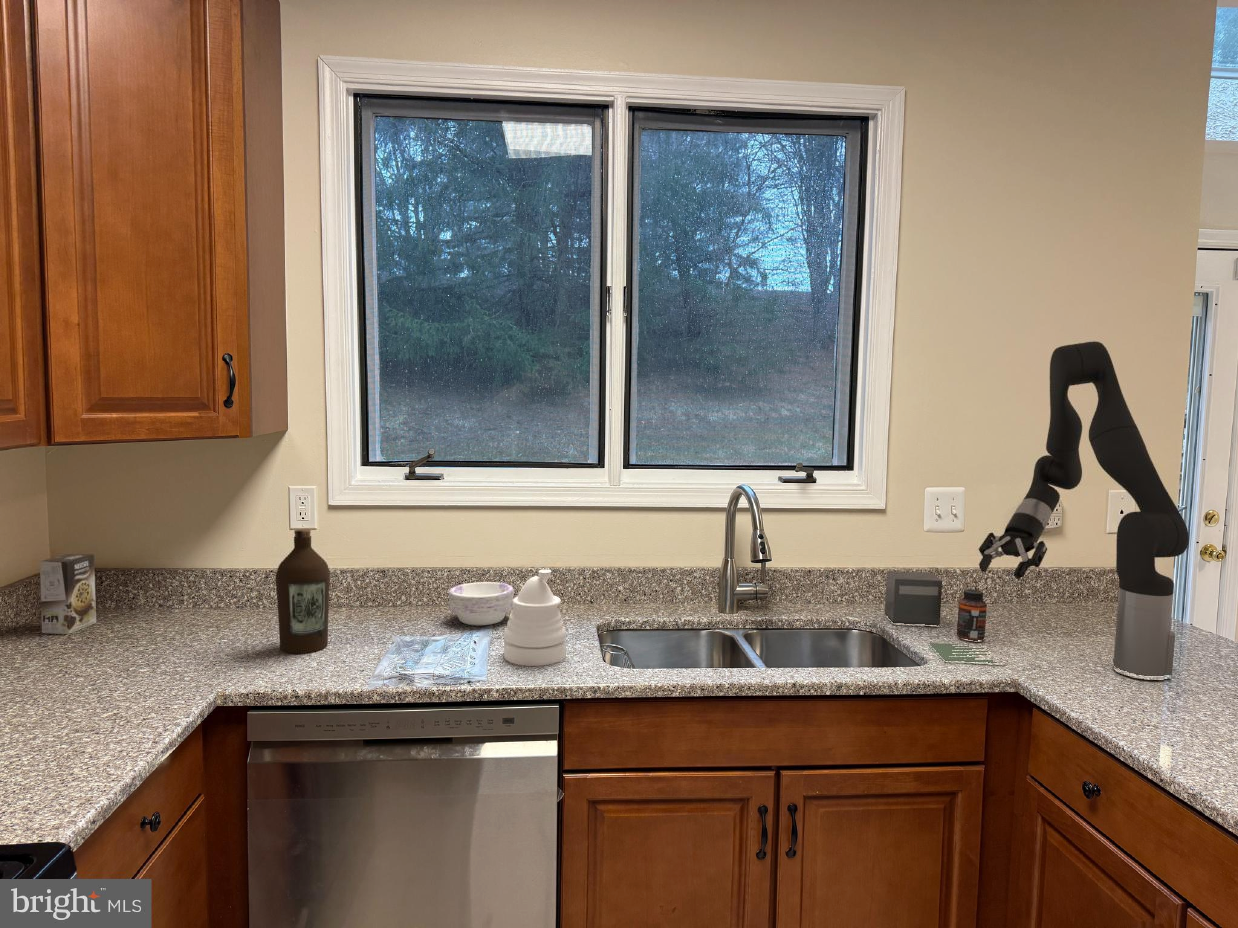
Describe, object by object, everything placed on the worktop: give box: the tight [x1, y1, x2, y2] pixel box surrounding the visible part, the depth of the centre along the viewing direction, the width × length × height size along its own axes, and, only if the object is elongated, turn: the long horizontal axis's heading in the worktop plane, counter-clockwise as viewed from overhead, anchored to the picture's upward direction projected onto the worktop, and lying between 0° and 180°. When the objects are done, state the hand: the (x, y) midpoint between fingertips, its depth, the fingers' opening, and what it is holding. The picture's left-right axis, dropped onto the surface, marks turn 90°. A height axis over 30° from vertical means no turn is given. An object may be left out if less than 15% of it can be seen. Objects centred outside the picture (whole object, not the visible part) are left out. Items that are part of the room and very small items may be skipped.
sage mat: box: [928, 642, 997, 663], centre depth 173 cm, size 12×12×1 cm
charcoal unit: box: [884, 570, 943, 627], centre depth 198 cm, size 11×10×12 cm
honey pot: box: [503, 569, 567, 667], centre depth 166 cm, size 13×13×18 cm
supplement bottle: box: [956, 588, 988, 641], centre depth 184 cm, size 6×6×11 cm
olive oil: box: [275, 528, 331, 655], centre depth 168 cm, size 11×11×25 cm
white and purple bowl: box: [448, 581, 515, 627], centre depth 191 cm, size 15×15×8 cm
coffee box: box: [39, 553, 97, 635], centre depth 179 cm, size 9×6×16 cm
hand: (998, 573), depth 189 cm, fingers open, 8 cm apart
